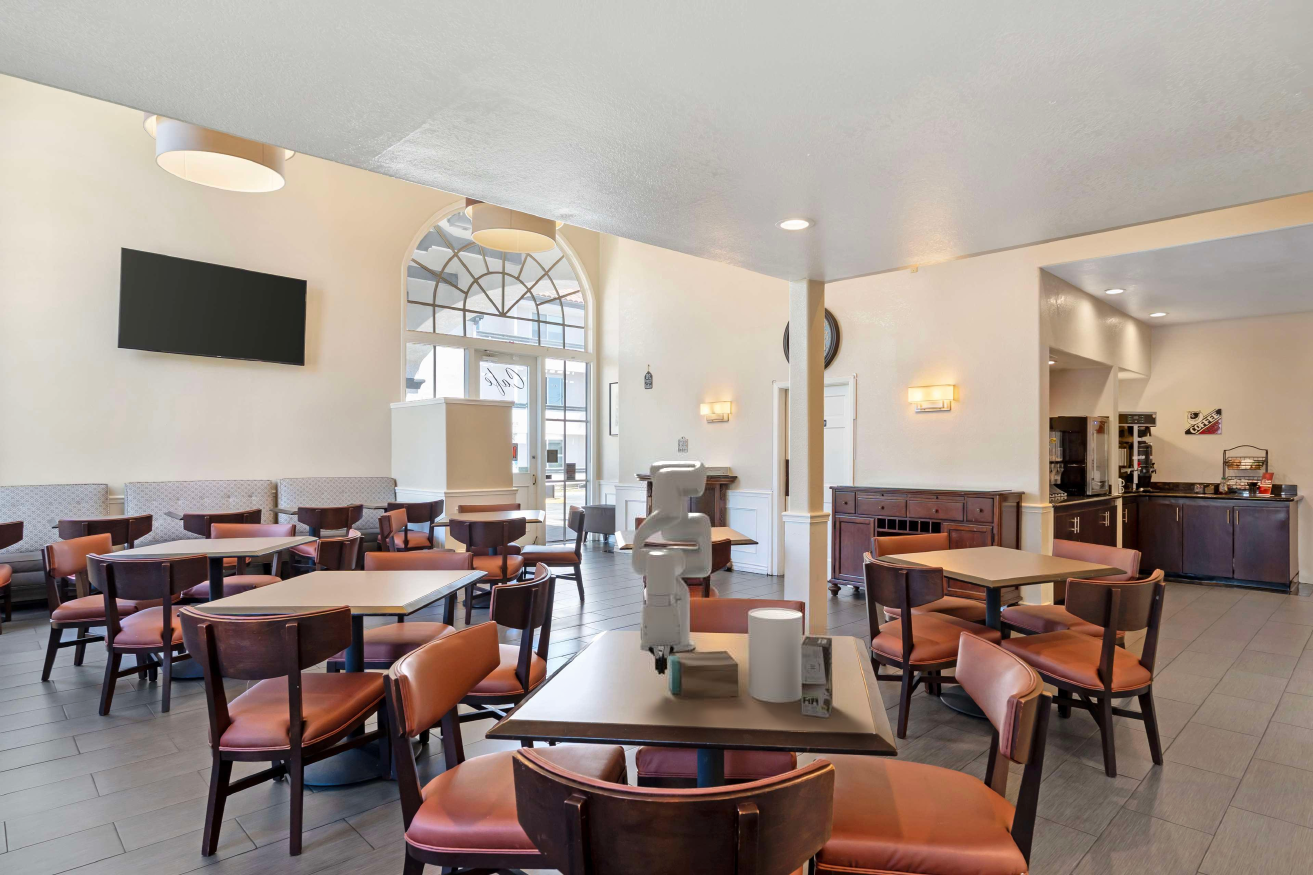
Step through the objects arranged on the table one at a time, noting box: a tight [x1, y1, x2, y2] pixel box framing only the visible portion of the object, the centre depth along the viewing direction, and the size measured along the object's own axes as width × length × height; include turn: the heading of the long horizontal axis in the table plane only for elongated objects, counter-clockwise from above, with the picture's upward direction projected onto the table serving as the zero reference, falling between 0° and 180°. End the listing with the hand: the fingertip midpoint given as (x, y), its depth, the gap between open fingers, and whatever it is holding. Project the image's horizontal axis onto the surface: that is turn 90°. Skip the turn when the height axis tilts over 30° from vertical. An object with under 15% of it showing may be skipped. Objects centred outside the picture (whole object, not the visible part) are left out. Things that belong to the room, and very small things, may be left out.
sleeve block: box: [674, 650, 739, 700], centre depth 176 cm, size 12×14×8 cm
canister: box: [747, 607, 804, 703], centre depth 174 cm, size 14×14×20 cm
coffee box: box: [801, 635, 834, 719], centre depth 162 cm, size 9×6×16 cm
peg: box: [668, 655, 680, 695], centre depth 176 cm, size 5×14×8 cm, turn 98°
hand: (661, 672), depth 175 cm, fingers closed
